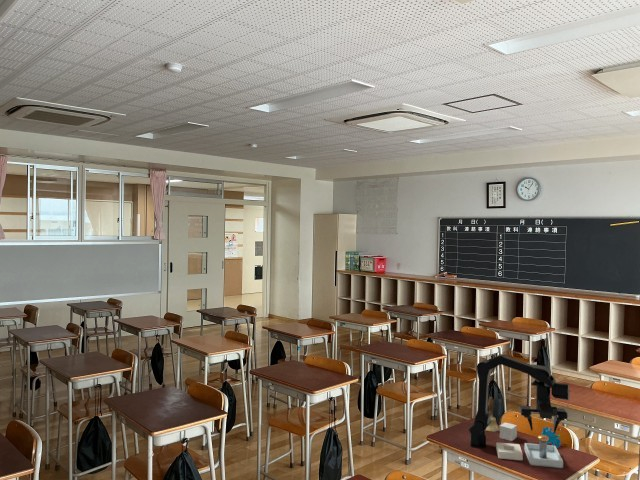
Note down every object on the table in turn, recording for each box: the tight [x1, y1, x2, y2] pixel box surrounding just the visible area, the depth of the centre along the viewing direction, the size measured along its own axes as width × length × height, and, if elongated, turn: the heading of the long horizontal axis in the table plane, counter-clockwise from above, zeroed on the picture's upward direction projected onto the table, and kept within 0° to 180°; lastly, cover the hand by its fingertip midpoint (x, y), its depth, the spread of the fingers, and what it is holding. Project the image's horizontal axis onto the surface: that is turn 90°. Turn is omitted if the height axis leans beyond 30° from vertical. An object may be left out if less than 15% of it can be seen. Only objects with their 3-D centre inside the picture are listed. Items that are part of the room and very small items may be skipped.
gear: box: [541, 426, 562, 449], centre depth 245 cm, size 11×6×10 cm
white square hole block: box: [495, 441, 524, 461], centre depth 233 cm, size 10×10×3 cm
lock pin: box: [537, 434, 549, 459], centre depth 229 cm, size 4×4×9 cm
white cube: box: [499, 422, 518, 442], centre depth 252 cm, size 6×6×6 cm
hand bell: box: [485, 396, 500, 433], centre depth 264 cm, size 8×8×16 cm
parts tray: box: [523, 442, 564, 469], centre depth 229 cm, size 13×16×3 cm
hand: (543, 431), depth 229 cm, fingers open, 9 cm apart
